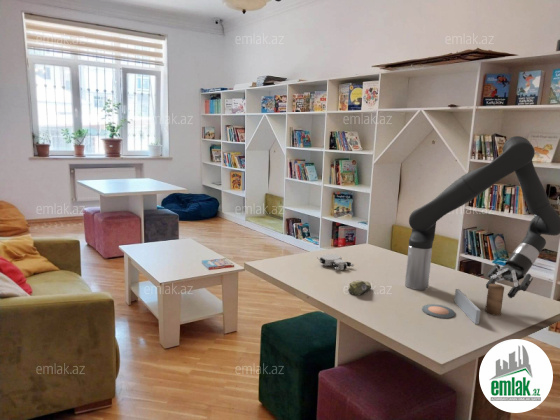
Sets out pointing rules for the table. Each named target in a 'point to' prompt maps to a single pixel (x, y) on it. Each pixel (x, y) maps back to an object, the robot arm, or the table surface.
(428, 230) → the robot arm
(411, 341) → the table surface
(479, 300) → the table surface
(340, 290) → the table surface
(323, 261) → the robot toy
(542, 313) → the table surface
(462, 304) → the acrylic wall
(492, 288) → the walnut pin
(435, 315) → the mat
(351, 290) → the rock
